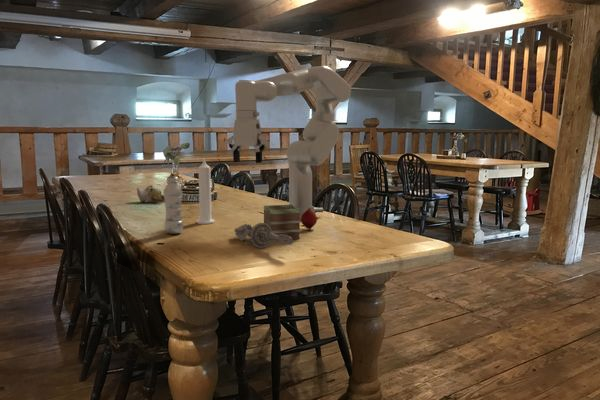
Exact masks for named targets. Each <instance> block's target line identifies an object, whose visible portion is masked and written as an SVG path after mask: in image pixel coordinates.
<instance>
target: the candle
mask: <svg viewBox="0 0 600 400" xmlns="http://www.w3.org/2000/svg"><path fill="white" fill-rule="evenodd" d="M211 174H212V173H211V166H209V165H208V164H207V162H206V158H203V160H202V163H201V165H199V166H198V200H199V201H198V202H199V219H197V220H196V223H197V224H200V225H210V224H214V223H215V222H216V220H215V219H214V218H212V187H211V185H212V184H211V180H212V179H211Z"/></svg>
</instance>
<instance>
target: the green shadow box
mask: <svg viewBox="0 0 600 400" xmlns="http://www.w3.org/2000/svg"><path fill="white" fill-rule="evenodd" d="M263 223H266V224H267V225H269V226H270V228H271V230H272V233H274V234H276V235H280V234H281V235H287V236H289V237H291V238H292V239H293V240H300V239H301V238H300V235H301V234H300V232H301V229H300V227H301V226H300V224H301V220H300V209H299V208H297V207H295V206H293V205H289V204H274V205H273V204H271V205H270V204H269V205H263ZM268 230H269V229H268ZM263 231H264V232H266V230H265V229H264V230H263Z"/></svg>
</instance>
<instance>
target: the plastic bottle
mask: <svg viewBox="0 0 600 400" xmlns="http://www.w3.org/2000/svg"><path fill="white" fill-rule="evenodd" d="M178 178H179V177H178V176H167V177H166V183H167V185H166V186H165V188H164V189H163V196H164V199H165V200H164V204H165V222H164V230H165V233H167V234H171V235H177V234H181V233H182V232H183V230H184V221H183V216H182V199H183V190H182V188H181V187H180V185H179V184H178V183H179V179H178Z"/></svg>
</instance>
